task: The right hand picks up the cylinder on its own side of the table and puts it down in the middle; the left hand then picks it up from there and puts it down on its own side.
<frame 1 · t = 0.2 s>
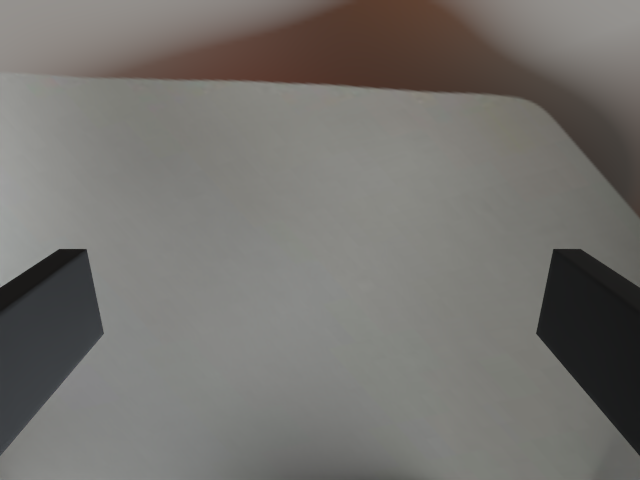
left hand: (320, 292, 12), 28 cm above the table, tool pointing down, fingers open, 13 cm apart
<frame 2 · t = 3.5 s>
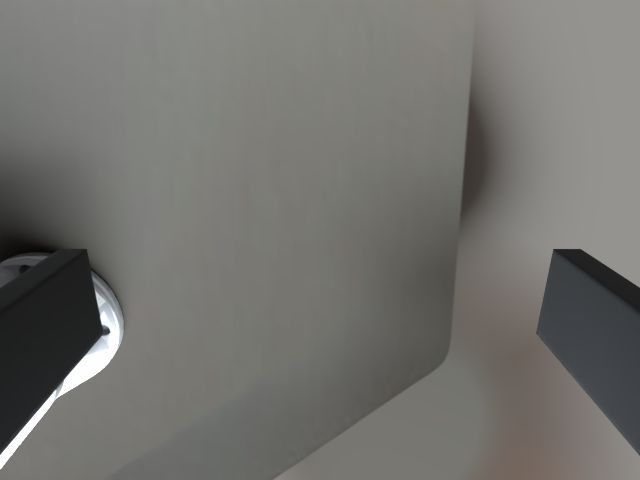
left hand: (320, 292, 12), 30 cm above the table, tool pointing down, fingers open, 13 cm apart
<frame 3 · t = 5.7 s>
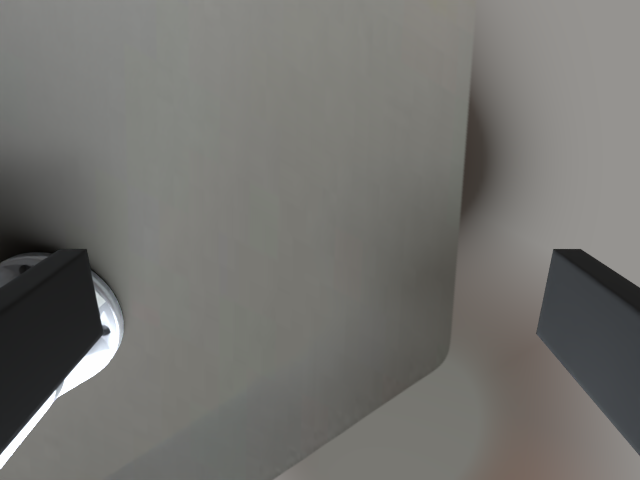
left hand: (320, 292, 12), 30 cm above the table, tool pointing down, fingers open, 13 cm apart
when the right hand's fingers open (5 cm above the table, at t = 8.3 s): cylinder drops 1 cm, on the table.
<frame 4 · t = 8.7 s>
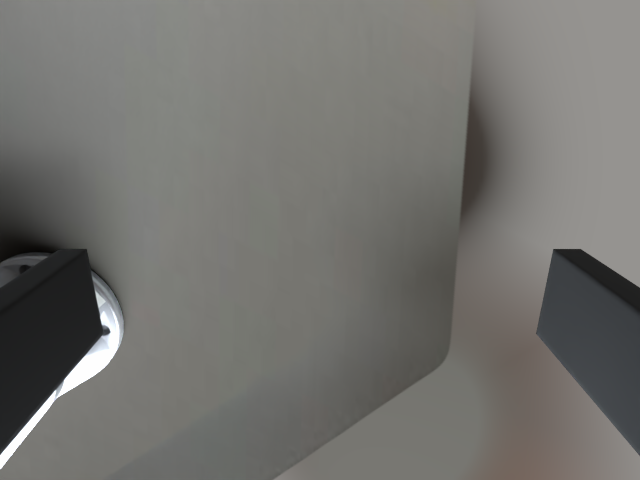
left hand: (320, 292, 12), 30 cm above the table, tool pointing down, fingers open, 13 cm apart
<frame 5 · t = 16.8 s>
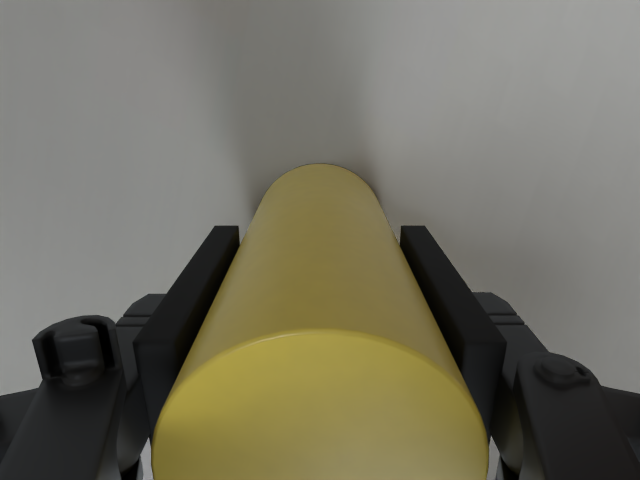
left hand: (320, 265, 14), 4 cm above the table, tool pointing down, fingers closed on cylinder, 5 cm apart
cylinder: (319, 225, 18), on the table, touching left hand
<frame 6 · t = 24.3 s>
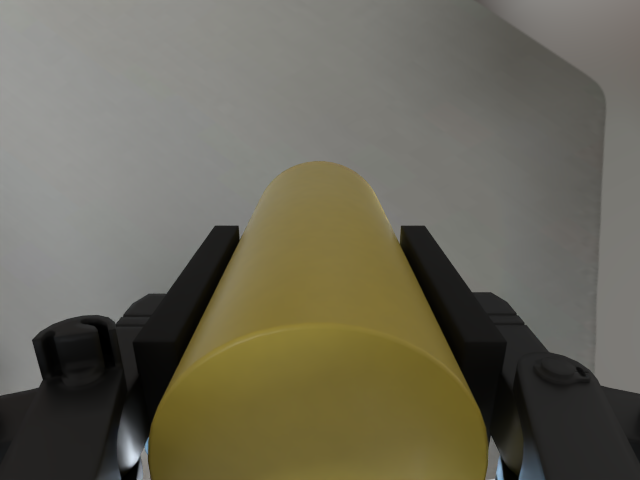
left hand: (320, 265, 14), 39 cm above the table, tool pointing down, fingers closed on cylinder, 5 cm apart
cylinder: (319, 223, 18), point 35 cm above the table, touching left hand
when the left hand's fingers open (5 cm above the table, at t = 31.8 s): cylinder drops 1 cm, on the table.
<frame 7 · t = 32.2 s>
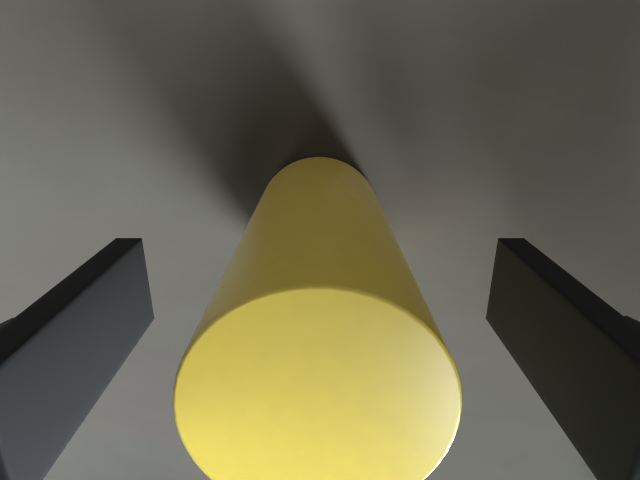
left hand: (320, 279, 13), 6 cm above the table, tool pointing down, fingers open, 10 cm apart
cylinder: (318, 215, 19), on the table
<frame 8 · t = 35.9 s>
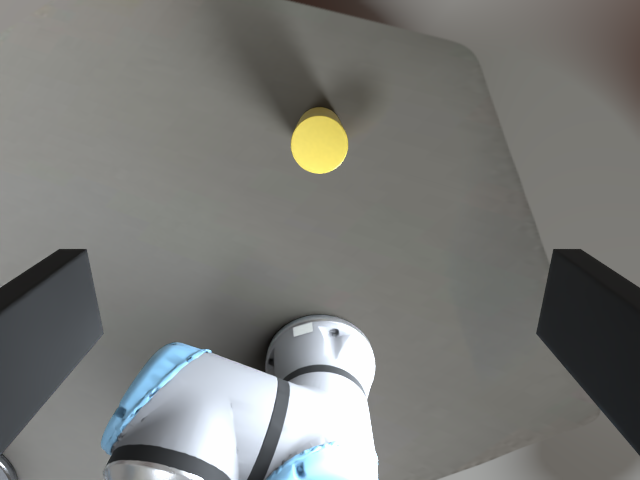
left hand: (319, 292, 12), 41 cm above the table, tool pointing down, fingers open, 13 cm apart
cylinder: (319, 130, 51), on the table
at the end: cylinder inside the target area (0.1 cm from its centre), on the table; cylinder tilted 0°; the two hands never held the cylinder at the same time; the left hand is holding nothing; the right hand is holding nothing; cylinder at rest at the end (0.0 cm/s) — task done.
